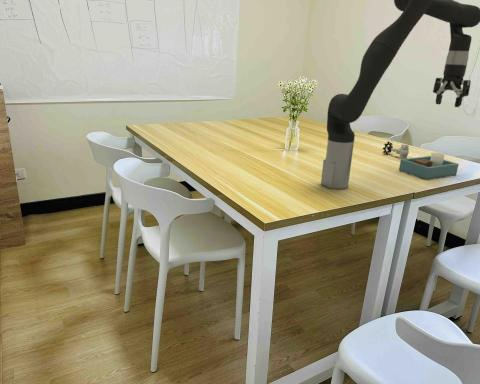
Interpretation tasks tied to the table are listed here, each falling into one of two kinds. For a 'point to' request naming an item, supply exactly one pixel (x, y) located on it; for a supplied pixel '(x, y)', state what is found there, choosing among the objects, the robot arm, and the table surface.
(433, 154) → the ceramic capsule
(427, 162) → the walnut cube
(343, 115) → the robot arm
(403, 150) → the valve
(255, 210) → the table surface
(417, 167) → the tote
